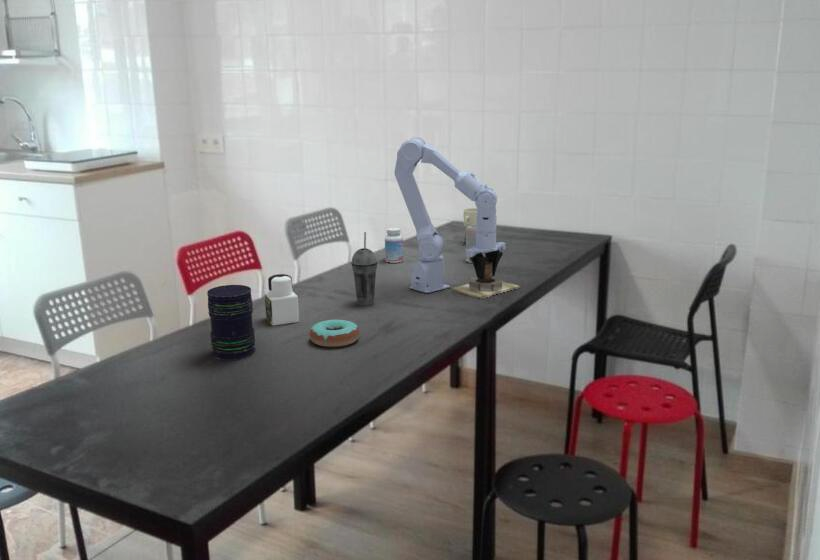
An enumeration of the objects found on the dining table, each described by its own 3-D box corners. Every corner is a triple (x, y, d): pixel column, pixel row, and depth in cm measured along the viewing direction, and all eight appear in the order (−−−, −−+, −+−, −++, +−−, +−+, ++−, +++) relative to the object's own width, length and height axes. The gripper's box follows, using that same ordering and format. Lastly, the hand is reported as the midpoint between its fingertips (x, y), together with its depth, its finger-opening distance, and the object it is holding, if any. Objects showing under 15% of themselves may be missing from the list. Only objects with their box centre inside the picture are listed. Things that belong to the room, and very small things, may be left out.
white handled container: (265, 318, 200) (262, 274, 197) (292, 314, 202) (289, 271, 199) (272, 326, 193) (269, 280, 190) (299, 322, 196) (297, 277, 193)
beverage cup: (348, 305, 209) (345, 234, 204) (358, 298, 216) (356, 229, 211) (372, 308, 207) (370, 236, 202) (382, 300, 213) (380, 231, 208)
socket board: (481, 299, 213) (481, 289, 213) (451, 290, 222) (451, 281, 222) (519, 288, 224) (519, 279, 223) (489, 280, 232) (489, 271, 232)
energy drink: (481, 259, 258) (481, 225, 255) (481, 263, 253) (481, 228, 250) (465, 259, 259) (466, 225, 256) (465, 263, 254) (465, 228, 251)
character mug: (472, 240, 288) (472, 206, 285) (488, 242, 284) (489, 208, 281) (456, 245, 280) (456, 211, 276) (473, 248, 276) (473, 212, 272)
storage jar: (215, 363, 169) (210, 298, 165) (208, 349, 178) (203, 287, 174) (260, 356, 173) (255, 293, 169) (251, 342, 181) (246, 282, 177)
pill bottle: (403, 263, 255) (402, 230, 252) (384, 263, 255) (384, 230, 252) (403, 259, 261) (402, 227, 258) (385, 259, 261) (385, 227, 258)
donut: (348, 330, 190) (347, 314, 189) (367, 344, 180) (367, 328, 179) (302, 337, 185) (302, 322, 184) (320, 353, 175) (319, 336, 174)
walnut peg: (484, 285, 220) (484, 265, 218) (475, 282, 223) (475, 262, 221) (495, 283, 222) (495, 263, 220) (486, 280, 225) (486, 260, 224)
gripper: (478, 237, 211) (478, 284, 214) (513, 229, 220) (512, 275, 224) (460, 233, 216) (460, 279, 220) (495, 226, 225) (495, 270, 229)
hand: (485, 277), depth 222 cm, fingers closed on walnut peg, 4 cm apart
